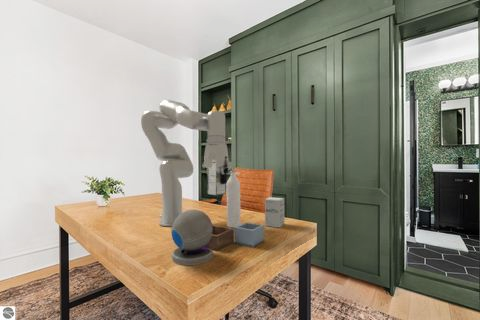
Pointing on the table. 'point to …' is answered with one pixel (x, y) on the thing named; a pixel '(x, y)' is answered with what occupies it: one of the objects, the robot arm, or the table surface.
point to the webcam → (192, 238)
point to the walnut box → (220, 238)
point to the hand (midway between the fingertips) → (216, 183)
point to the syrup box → (215, 180)
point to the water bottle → (233, 201)
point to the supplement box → (274, 212)
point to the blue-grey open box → (249, 234)
